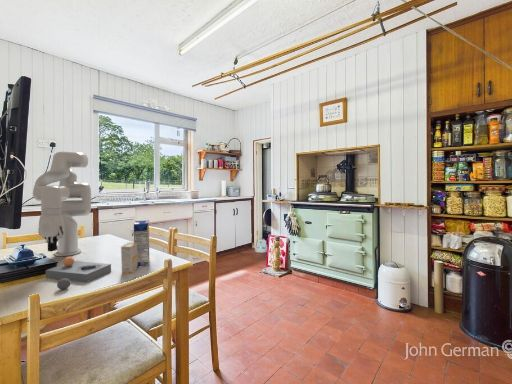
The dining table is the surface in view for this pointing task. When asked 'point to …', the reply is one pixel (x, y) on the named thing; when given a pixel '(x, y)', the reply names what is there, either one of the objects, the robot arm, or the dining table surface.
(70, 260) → the ball
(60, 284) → the ball
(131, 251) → the supplement box
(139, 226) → the beverage box
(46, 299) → the dining table surface
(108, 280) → the dining table surface
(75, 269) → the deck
